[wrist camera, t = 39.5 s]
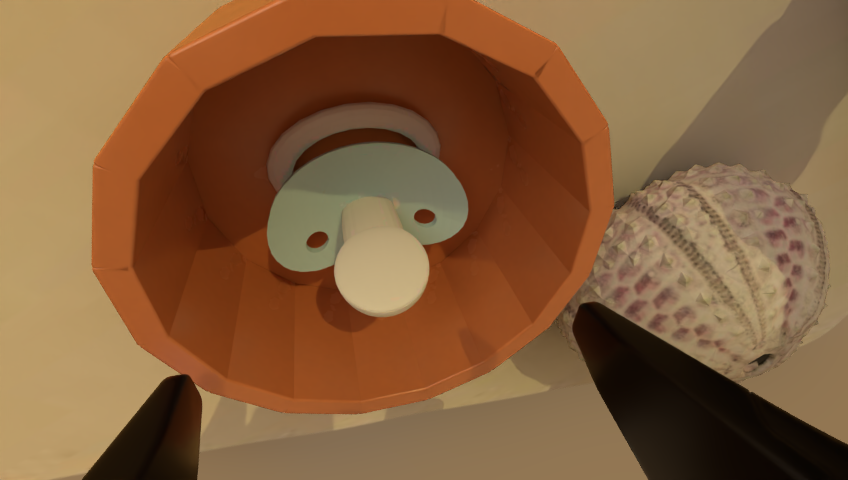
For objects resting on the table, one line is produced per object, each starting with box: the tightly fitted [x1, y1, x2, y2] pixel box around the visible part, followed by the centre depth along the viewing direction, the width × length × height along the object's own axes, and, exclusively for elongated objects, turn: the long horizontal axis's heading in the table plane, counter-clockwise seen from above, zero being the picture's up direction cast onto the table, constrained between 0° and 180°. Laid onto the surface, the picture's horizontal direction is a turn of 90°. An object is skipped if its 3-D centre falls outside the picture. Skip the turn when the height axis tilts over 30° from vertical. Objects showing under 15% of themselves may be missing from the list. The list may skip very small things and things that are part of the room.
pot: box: [92, 0, 614, 414], centre depth 14 cm, size 14×14×6 cm
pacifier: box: [266, 102, 468, 317], centre depth 14 cm, size 7×6×6 cm
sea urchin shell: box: [557, 162, 831, 384], centre depth 21 cm, size 13×14×8 cm
